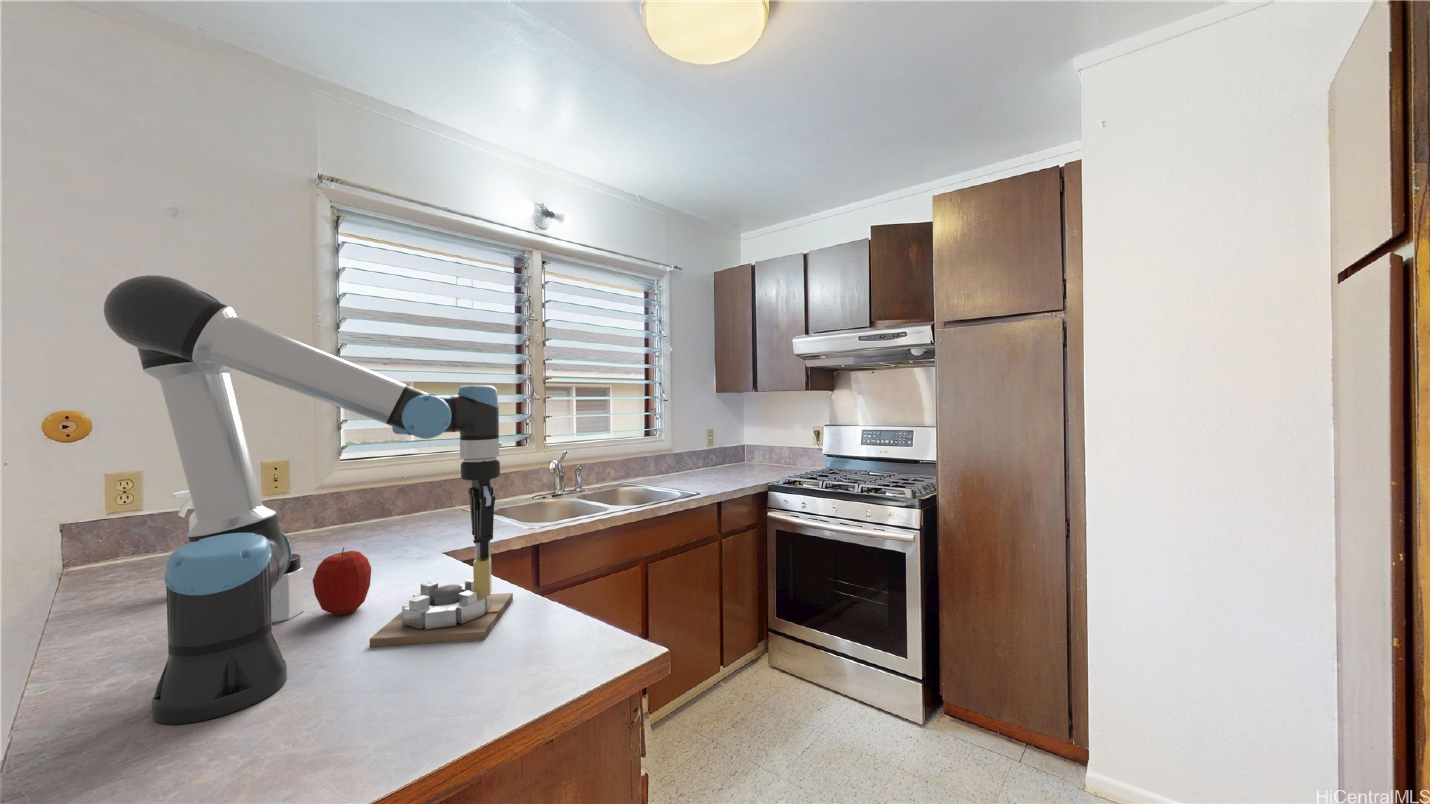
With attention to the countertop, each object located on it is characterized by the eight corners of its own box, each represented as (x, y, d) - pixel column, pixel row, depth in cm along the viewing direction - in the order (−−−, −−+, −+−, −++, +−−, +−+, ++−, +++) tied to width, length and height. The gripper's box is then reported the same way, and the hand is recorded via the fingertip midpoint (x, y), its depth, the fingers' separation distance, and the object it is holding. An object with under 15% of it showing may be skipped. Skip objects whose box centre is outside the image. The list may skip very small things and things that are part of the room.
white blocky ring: (395, 633, 99) (394, 578, 99) (415, 603, 114) (414, 555, 114) (486, 621, 104) (485, 569, 104) (495, 594, 118) (494, 548, 118)
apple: (359, 600, 121) (358, 538, 121) (381, 609, 116) (380, 544, 115) (304, 616, 112) (303, 549, 112) (326, 626, 107) (324, 556, 107)
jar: (245, 628, 107) (244, 568, 107) (252, 615, 113) (251, 558, 113) (302, 617, 112) (301, 560, 111) (305, 605, 118) (304, 551, 118)
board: (484, 639, 100) (484, 604, 100) (369, 647, 98) (368, 611, 98) (512, 599, 120) (512, 570, 120) (417, 605, 118) (417, 575, 117)
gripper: (507, 460, 110) (510, 576, 110) (491, 455, 120) (494, 560, 120) (467, 464, 105) (470, 584, 106) (454, 458, 116) (457, 567, 116)
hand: (483, 571), depth 113 cm, fingers closed
